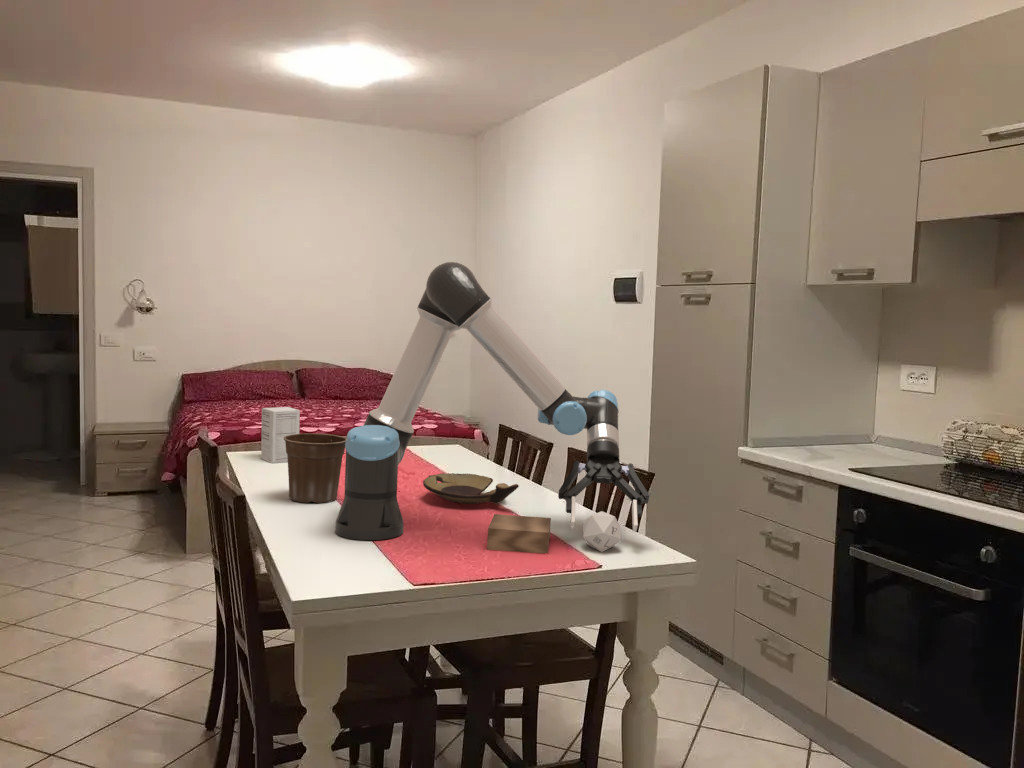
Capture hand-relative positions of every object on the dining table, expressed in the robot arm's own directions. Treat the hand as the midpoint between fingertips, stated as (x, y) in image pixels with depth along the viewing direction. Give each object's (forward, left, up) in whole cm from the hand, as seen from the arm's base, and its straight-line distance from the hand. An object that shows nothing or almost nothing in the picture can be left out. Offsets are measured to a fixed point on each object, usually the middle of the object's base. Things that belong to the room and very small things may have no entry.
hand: (604, 526), depth 179 cm
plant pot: (-73, +33, -5) cm, 80 cm away
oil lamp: (-33, +38, -5) cm, 51 cm away
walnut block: (-18, +1, -6) cm, 19 cm away
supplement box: (-99, +83, -5) cm, 130 cm away
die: (0, +2, -5) cm, 6 cm away
